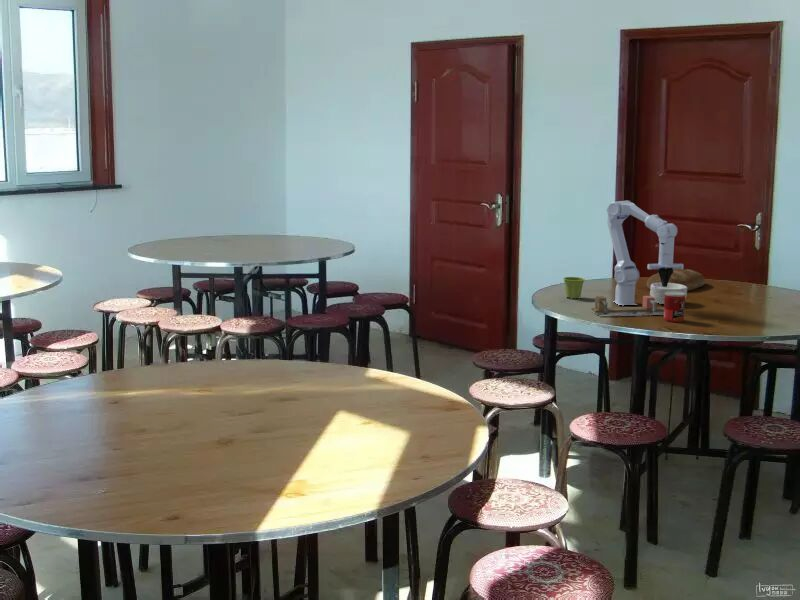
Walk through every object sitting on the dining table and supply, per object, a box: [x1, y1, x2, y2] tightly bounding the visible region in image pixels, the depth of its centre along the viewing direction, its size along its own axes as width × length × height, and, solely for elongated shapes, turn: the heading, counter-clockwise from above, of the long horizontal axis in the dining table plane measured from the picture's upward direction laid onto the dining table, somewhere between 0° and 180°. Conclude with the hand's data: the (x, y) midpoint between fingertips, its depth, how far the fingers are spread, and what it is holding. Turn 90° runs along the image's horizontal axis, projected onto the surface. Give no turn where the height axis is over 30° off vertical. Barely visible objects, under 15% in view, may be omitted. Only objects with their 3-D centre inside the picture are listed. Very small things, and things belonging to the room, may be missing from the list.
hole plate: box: [595, 311, 664, 317], centre depth 401 cm, size 6×30×1 cm, turn 96°
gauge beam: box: [591, 295, 664, 312], centre depth 404 cm, size 10×30×6 cm, turn 96°
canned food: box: [663, 291, 686, 323], centre depth 390 cm, size 8×8×11 cm
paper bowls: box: [649, 283, 688, 305], centre depth 425 cm, size 15×15×8 cm
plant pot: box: [562, 276, 585, 299], centre depth 437 cm, size 9×9×9 cm
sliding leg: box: [642, 295, 657, 311], centre depth 405 cm, size 10×3×5 cm, turn 6°
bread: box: [646, 268, 706, 292], centre depth 466 cm, size 22×37×8 cm, turn 138°
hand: (664, 286), depth 407 cm, fingers closed
